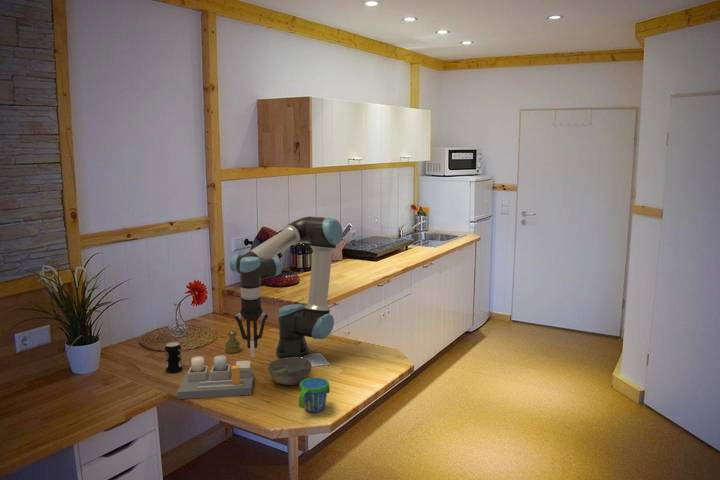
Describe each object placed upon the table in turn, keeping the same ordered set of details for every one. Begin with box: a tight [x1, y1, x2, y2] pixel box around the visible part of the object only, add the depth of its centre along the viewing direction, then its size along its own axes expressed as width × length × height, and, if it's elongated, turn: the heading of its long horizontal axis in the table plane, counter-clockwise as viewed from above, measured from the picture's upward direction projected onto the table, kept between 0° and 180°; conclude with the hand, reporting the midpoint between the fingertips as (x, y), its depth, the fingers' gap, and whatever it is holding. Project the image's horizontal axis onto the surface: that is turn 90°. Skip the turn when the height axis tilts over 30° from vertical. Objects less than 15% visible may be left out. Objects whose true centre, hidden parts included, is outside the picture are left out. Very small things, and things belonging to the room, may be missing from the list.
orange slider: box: [230, 365, 241, 385], centre depth 225 cm, size 3×3×7 cm
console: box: [176, 364, 255, 400], centre depth 230 cm, size 28×18×6 cm, turn 97°
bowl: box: [267, 357, 312, 386], centre depth 235 cm, size 18×18×8 cm
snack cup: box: [298, 376, 331, 413], centre depth 210 cm, size 16×10×10 cm
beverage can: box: [164, 341, 183, 374], centre depth 248 cm, size 7×7×12 cm
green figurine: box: [224, 329, 242, 354], centre depth 271 cm, size 7×7×10 cm
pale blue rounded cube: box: [213, 354, 228, 371], centre depth 233 cm, size 5×5×5 cm
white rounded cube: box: [190, 355, 205, 372], centre depth 232 cm, size 5×5×5 cm
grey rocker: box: [235, 360, 251, 371], centre depth 234 cm, size 6×5×2 cm
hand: (252, 355), depth 225 cm, fingers closed
